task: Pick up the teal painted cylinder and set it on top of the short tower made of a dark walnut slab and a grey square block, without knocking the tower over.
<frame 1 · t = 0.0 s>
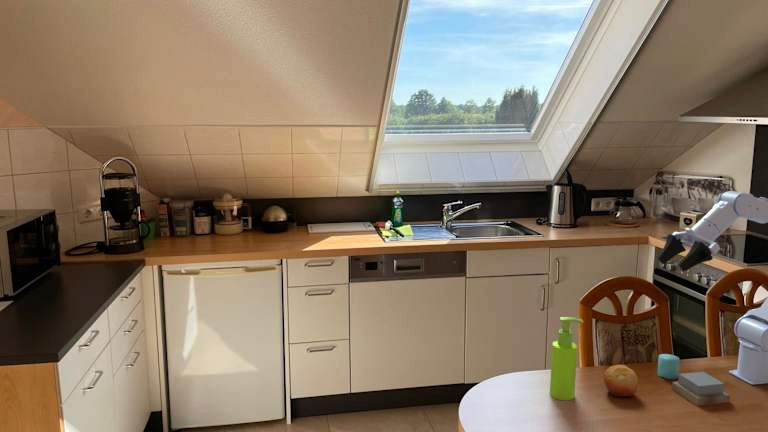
hand: (670, 264, 146), 32 cm above the table, tool tilted 50°, fingers open, 7 cm apart
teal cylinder: (667, 375, 158), on the table
fruit: (619, 394, 148), on the table
walnut slab: (699, 397, 147), on the table
soap dispenser: (564, 395, 147), on the table
grey square block: (700, 388, 147), point 2 cm above the table
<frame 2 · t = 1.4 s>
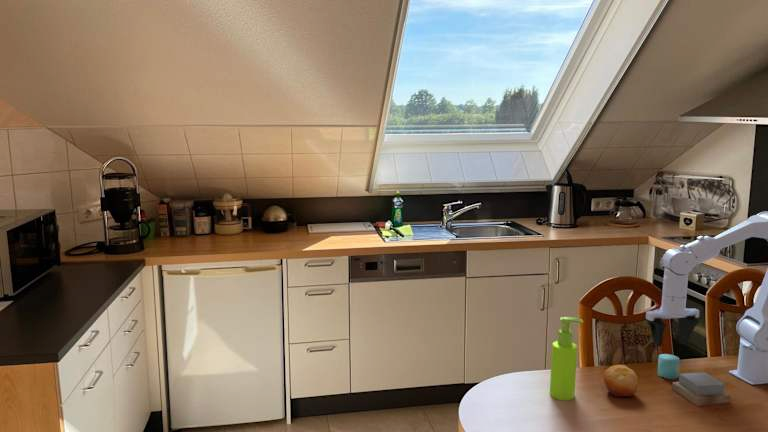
hand: (670, 344, 157), 9 cm above the table, tool pointing down, fingers open, 7 cm apart
walnut slab: (699, 397, 147), on the table, touching grey square block
grey square block: (700, 388, 146), point 2 cm above the table, touching walnut slab
everything else where it was.
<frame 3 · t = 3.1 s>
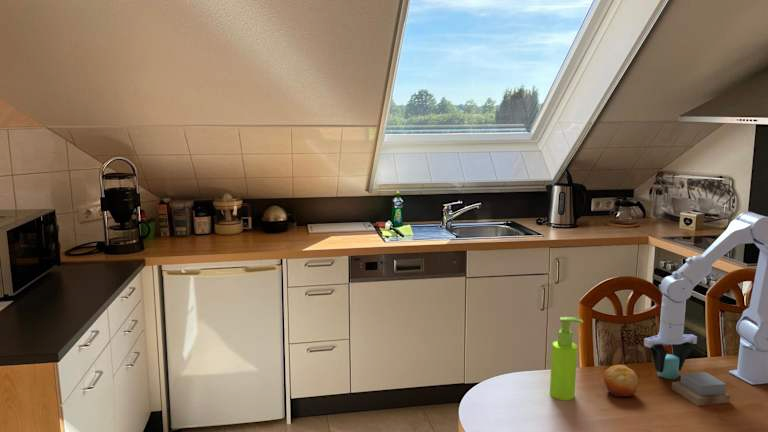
hand: (668, 370, 158), 1 cm above the table, tool pointing down, fingers closed on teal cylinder, 5 cm apart
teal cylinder: (667, 375, 158), on the table, touching gripper
everything else where it was.
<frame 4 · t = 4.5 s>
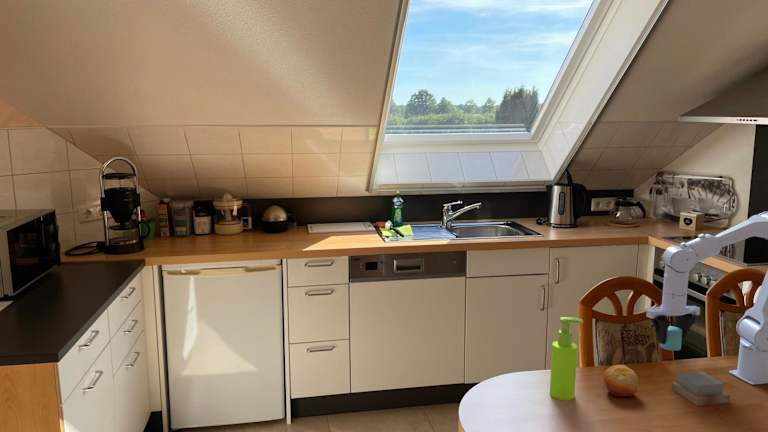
hand: (670, 341, 157), 9 cm above the table, tool pointing down, fingers closed on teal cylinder, 5 cm apart
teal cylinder: (670, 347, 157), point 8 cm above the table, touching gripper
everything else where it was.
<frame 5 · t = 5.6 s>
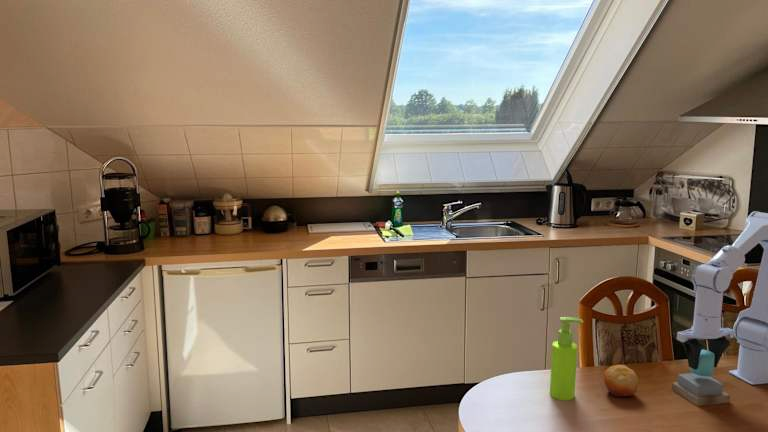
hand: (702, 366, 146), 8 cm above the table, tool pointing down, fingers closed on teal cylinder, 5 cm apart
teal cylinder: (701, 372, 146), point 6 cm above the table, touching gripper
walnut slab: (699, 398, 147), on the table
grey square block: (699, 388, 146), point 2 cm above the table
everything else where it was.
when the fingers open (7 cm above the table, at t = 6.5 s): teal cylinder drops 2 cm, resting on grey square block.
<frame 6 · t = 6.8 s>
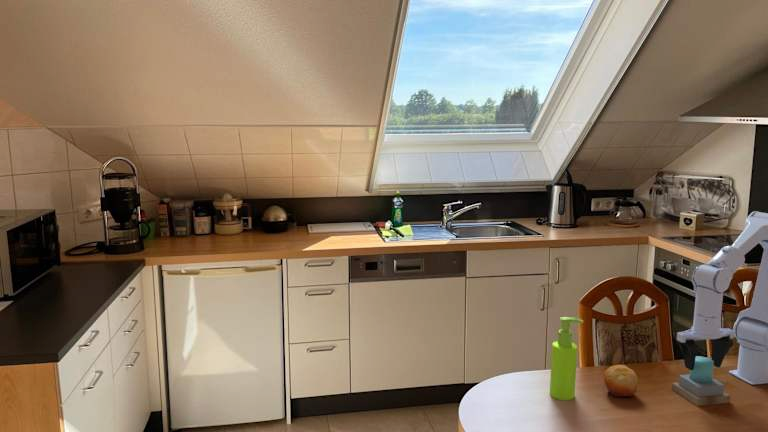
hand: (702, 367, 146), 7 cm above the table, tool pointing down, fingers open, 7 cm apart
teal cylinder: (700, 379, 146), point 4 cm above the table, touching grey square block
grey square block: (700, 389, 146), point 2 cm above the table, touching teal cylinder
everything else where it was.
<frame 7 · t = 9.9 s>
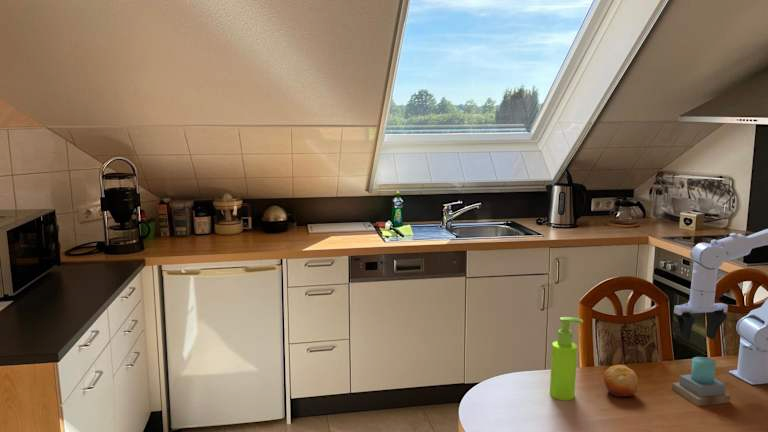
hand: (697, 338, 156), 10 cm above the table, tool pointing down, fingers open, 7 cm apart
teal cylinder: (702, 379, 146), point 4 cm above the table
walnut slab: (699, 398, 147), on the table, touching grey square block
grey square block: (701, 389, 146), point 2 cm above the table, touching walnut slab
everything else where it was.
at the end: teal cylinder 0.1 cm off-centre on the walnut slab, point 5.0 cm above the walnut slab's base; grey square block 0.2 cm off-centre on the walnut slab, point 2.5 cm above the walnut slab's base; walnut slab moved 0.8 cm from its start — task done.
